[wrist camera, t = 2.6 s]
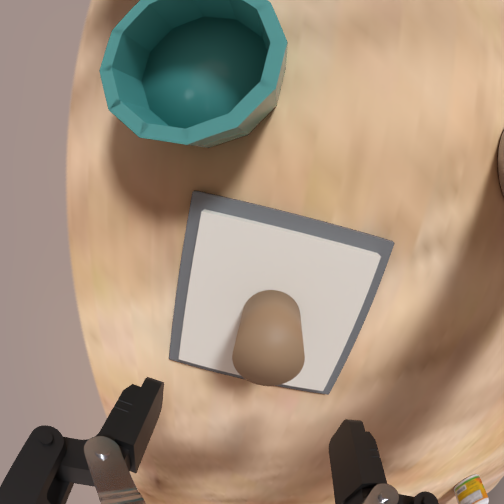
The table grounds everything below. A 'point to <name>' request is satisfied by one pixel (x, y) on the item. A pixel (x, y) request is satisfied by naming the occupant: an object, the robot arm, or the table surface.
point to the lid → (271, 301)
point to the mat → (283, 221)
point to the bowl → (194, 69)
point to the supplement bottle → (471, 491)
